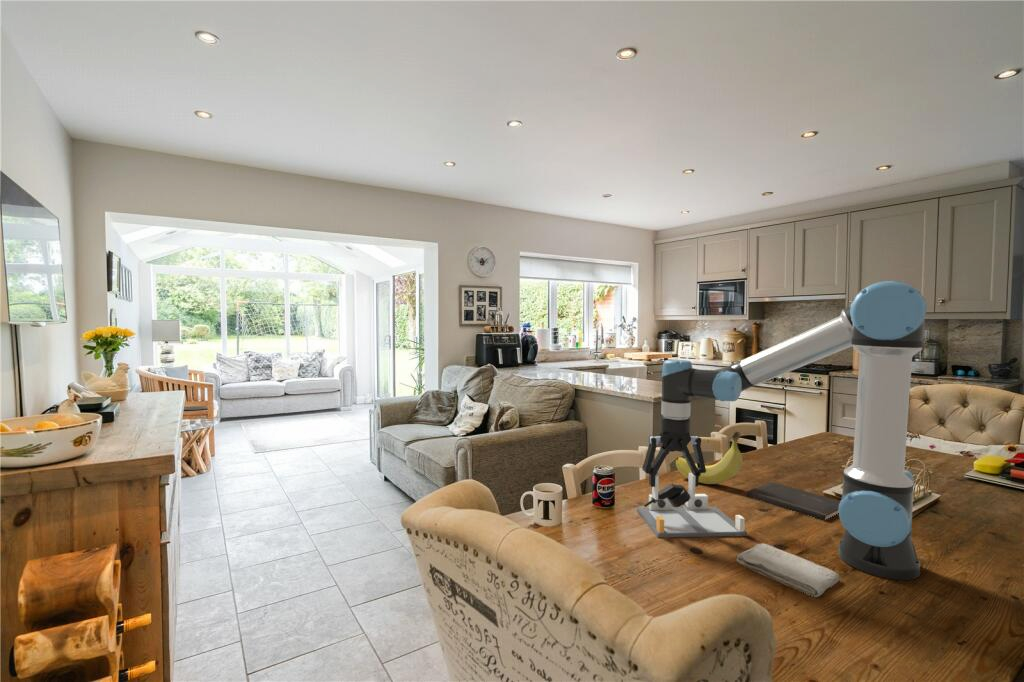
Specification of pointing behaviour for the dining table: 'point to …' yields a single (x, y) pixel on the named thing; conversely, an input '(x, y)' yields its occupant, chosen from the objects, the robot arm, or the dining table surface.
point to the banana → (717, 465)
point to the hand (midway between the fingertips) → (673, 497)
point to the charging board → (690, 519)
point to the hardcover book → (796, 500)
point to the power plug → (673, 496)
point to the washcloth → (788, 569)
